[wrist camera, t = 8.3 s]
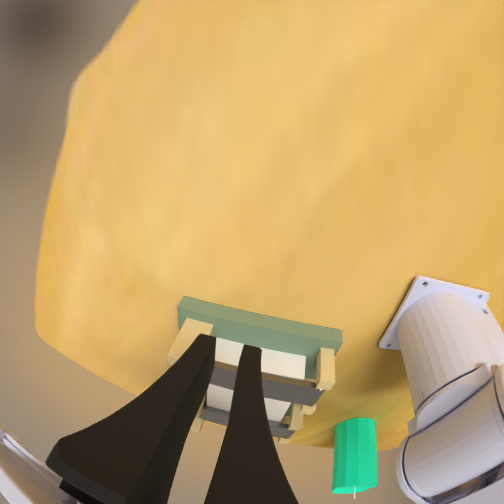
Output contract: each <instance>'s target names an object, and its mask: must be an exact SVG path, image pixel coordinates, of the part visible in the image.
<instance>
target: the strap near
mask: <svg viewBox="0 0 504 504" xmlns="http://www.w3.org/2000/svg"><path fill="white" fill-rule="evenodd" d="M237 369H238V366H234V365H230V364H226V363H223V362H219V361H215V366H214V370H213V373H212V377H211V380H210V383H209V384H212V385H216V386H219V387H223V388H227V389H230V390H234V385H235V380H236V375H237ZM261 374H262V387H263V394H264V398H269V399H274V400H279V401H284V402H290V403H296V404H302V405H308V406H310V407H312V406H314V405H315V403H316V402H317V401H318V399H319V398H320V396H321V395H322V393H323V392H324V390H323V389H316V383H315V382H309V381H303V380H298V379H292V378H287V377H282V376H277V375H272V374H268V373H263V372H261Z"/></svg>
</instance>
